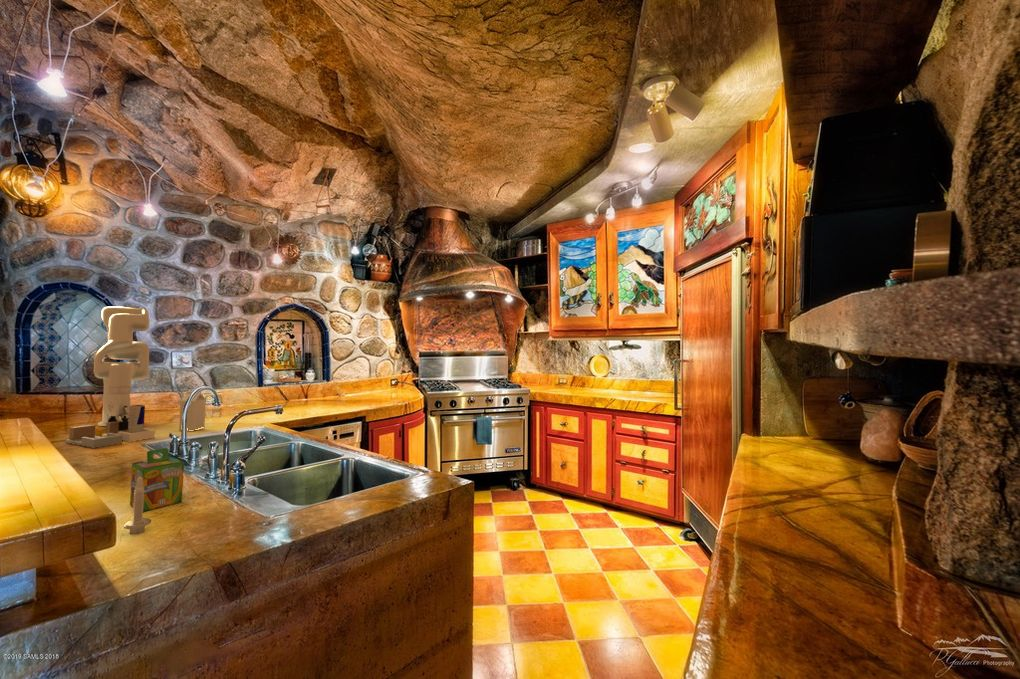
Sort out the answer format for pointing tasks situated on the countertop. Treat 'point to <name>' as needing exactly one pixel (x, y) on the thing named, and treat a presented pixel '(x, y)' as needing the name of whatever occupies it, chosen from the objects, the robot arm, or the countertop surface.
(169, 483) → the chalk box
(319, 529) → the countertop surface
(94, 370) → the robot arm
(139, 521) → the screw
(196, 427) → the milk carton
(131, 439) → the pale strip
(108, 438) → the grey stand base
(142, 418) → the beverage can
